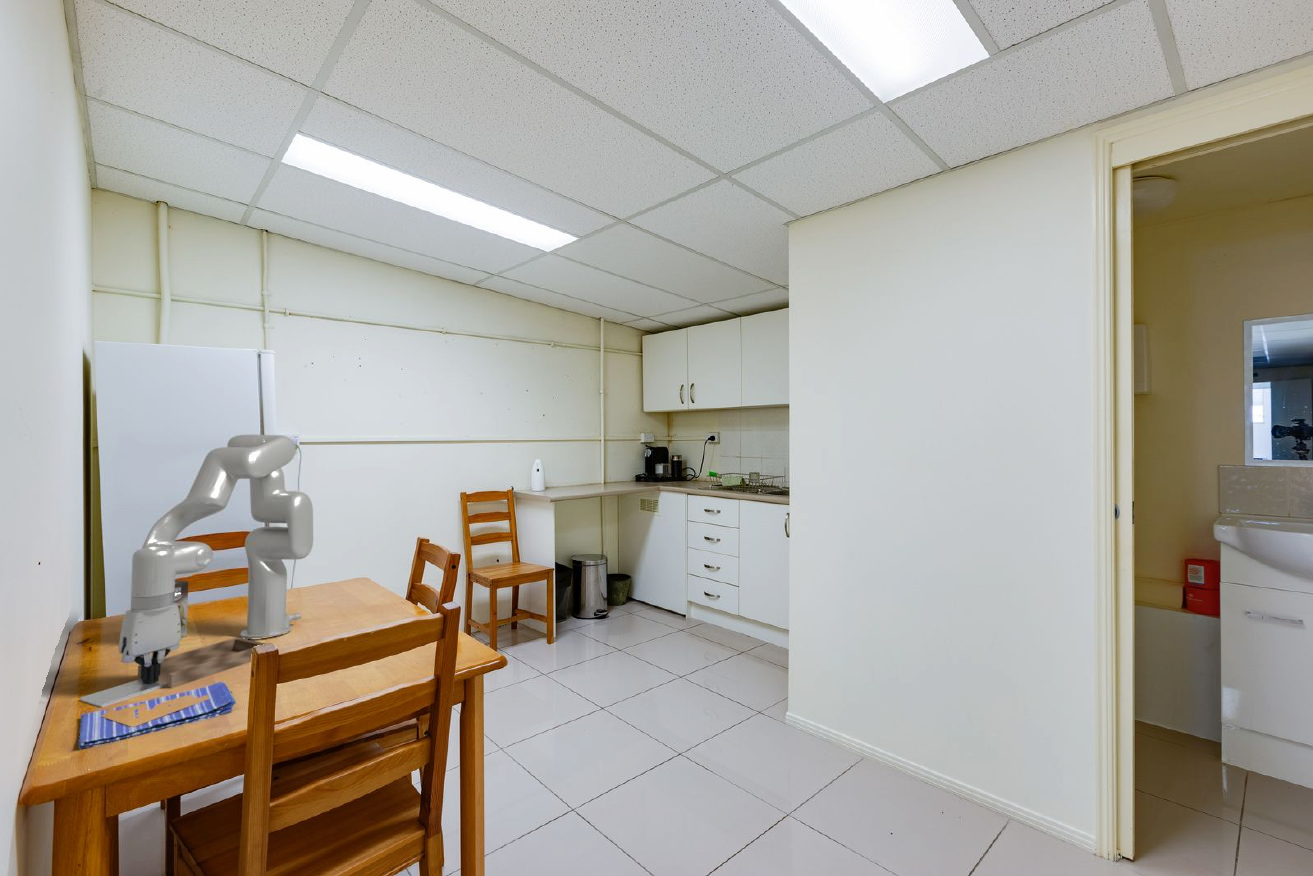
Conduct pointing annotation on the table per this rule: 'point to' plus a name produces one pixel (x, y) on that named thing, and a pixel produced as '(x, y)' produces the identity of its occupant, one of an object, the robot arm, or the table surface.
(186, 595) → the cookie box
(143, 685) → the cover plate
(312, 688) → the table surface
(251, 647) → the walnut box
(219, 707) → the dish towel
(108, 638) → the table surface
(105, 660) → the table surface
